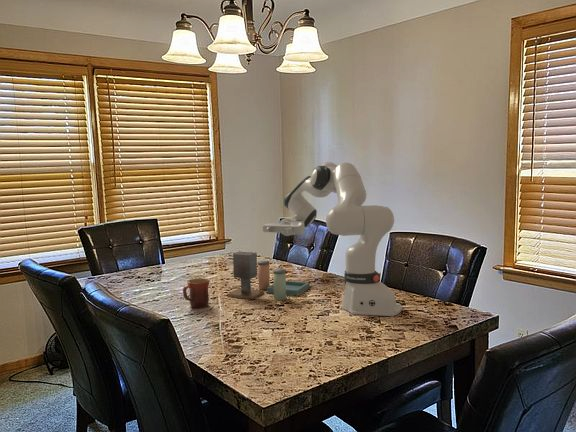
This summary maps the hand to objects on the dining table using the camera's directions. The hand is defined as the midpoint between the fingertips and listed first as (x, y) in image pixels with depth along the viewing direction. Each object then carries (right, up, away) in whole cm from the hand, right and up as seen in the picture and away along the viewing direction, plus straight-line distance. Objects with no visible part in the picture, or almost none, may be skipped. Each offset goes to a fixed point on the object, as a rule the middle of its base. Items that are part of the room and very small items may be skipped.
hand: (276, 230), depth 225 cm
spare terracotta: (-5, -25, -10) cm, 28 cm away
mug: (-30, -29, -37) cm, 56 cm away
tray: (+6, -26, -15) cm, 30 cm away
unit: (-12, -27, -21) cm, 36 cm away
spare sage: (+2, -27, -28) cm, 39 cm away
